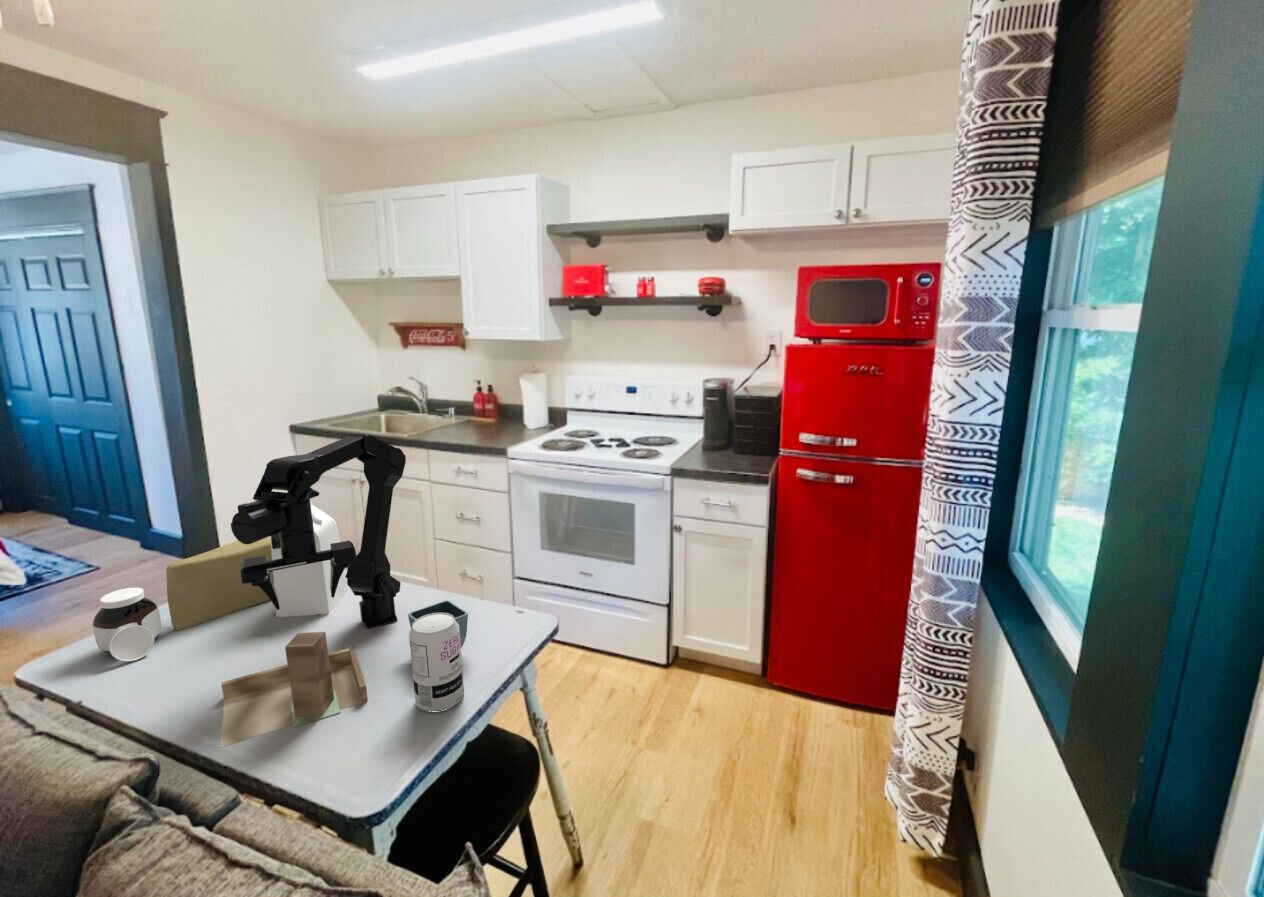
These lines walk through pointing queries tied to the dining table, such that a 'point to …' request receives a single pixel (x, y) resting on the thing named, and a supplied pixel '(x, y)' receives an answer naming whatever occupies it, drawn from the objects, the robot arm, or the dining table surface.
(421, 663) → the supplement can
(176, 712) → the dining table surface
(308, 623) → the dining table surface
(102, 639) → the spread jar
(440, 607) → the flower pot
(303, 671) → the walnut block
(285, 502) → the robot arm
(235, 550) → the cheese
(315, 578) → the milk
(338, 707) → the tray
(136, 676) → the dining table surface
